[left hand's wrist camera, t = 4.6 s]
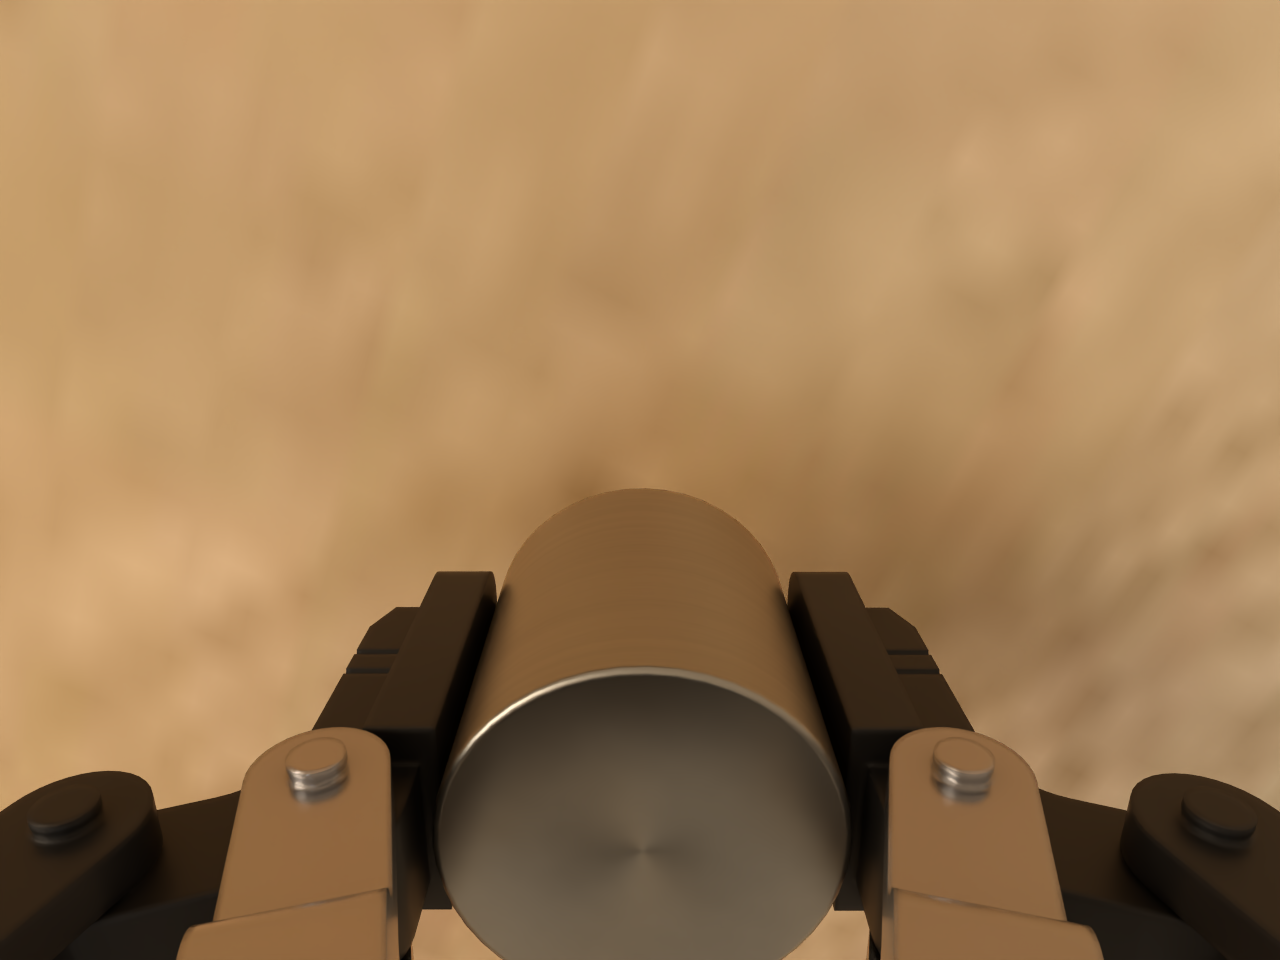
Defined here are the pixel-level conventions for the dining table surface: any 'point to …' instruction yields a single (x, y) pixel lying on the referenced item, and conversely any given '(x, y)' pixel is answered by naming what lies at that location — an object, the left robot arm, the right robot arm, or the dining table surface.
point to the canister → (642, 749)
